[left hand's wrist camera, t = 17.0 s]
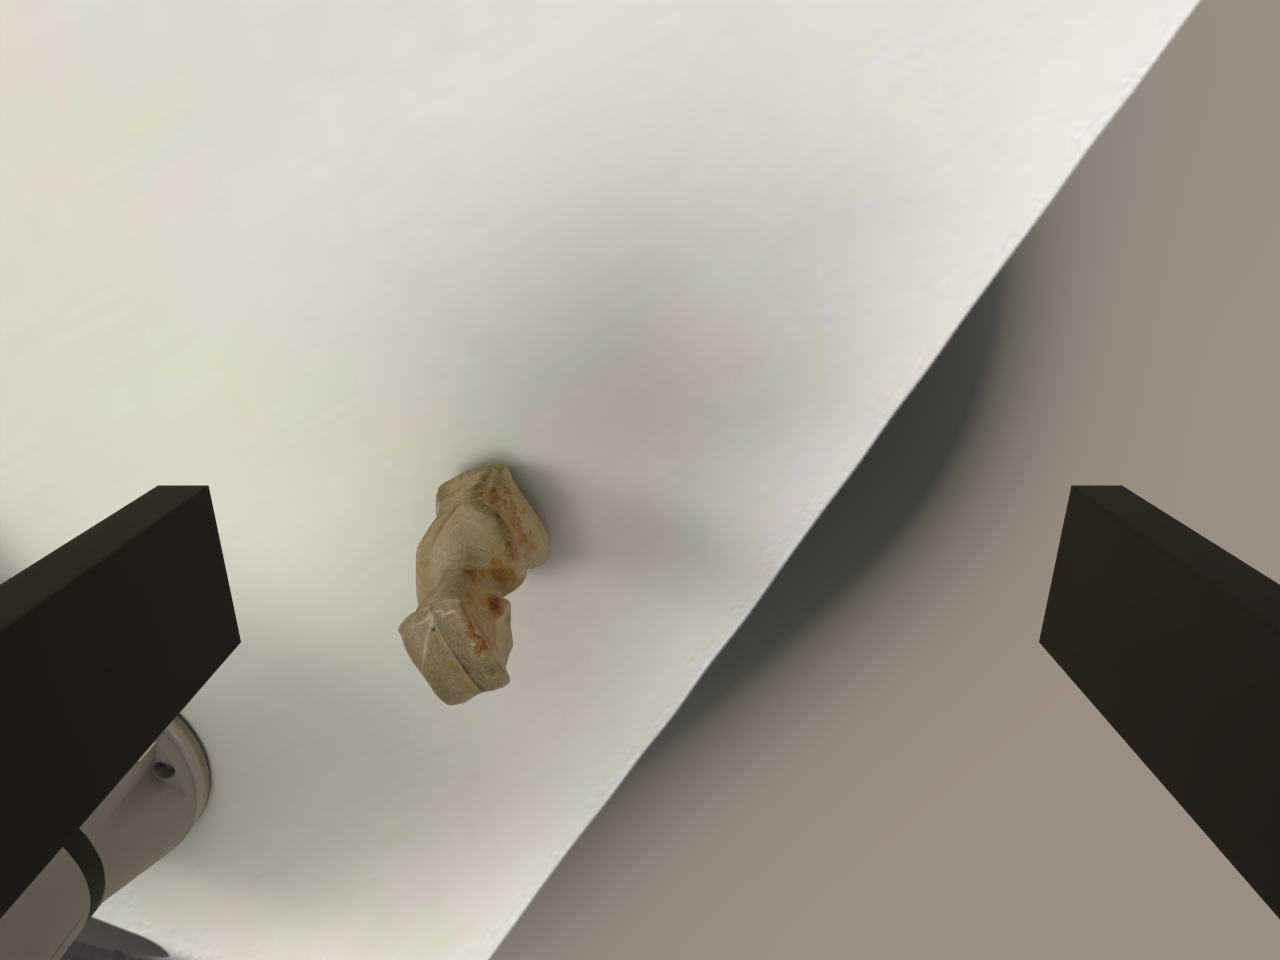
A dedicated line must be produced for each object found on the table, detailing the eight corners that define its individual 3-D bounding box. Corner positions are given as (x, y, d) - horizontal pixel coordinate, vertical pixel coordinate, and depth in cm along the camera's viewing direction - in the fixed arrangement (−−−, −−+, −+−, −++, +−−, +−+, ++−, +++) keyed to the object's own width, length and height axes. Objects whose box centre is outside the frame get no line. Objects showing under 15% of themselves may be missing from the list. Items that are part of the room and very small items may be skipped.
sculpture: (480, 574, 49) (416, 731, 35) (430, 472, 47) (341, 596, 33) (567, 545, 48) (537, 694, 34) (522, 440, 46) (470, 553, 32)
